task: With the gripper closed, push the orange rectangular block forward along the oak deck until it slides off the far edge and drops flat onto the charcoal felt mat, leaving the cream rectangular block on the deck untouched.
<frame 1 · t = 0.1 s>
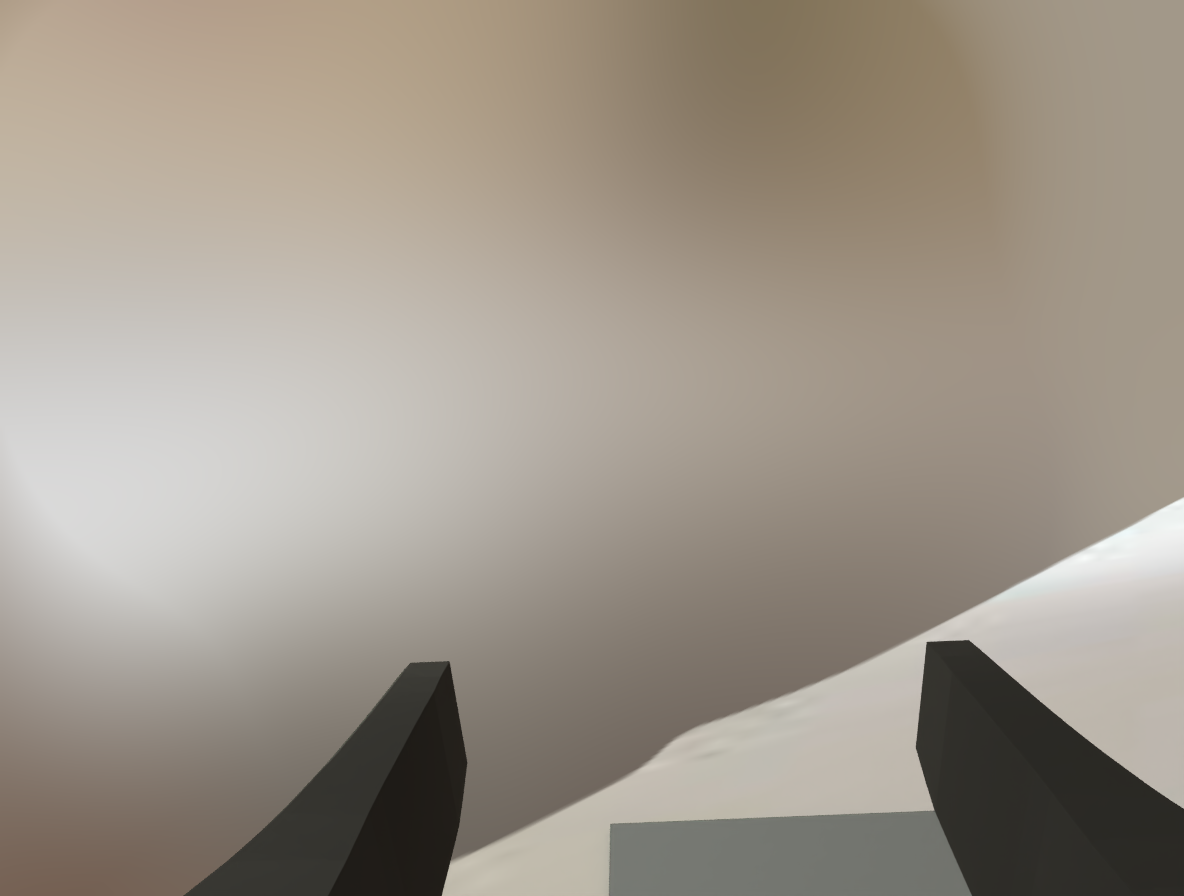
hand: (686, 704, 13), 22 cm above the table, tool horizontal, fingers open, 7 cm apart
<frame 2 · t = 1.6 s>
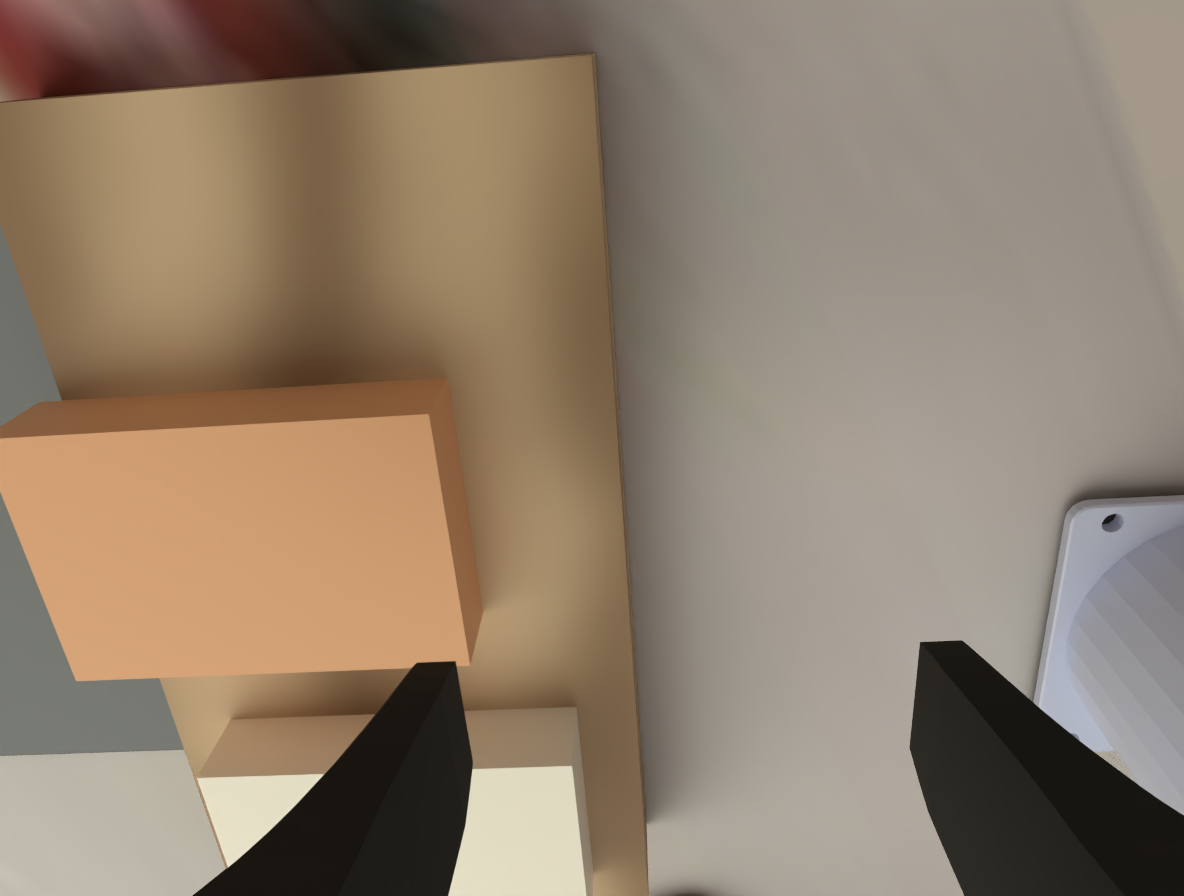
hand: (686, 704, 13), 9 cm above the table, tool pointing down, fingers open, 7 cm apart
cream rectangular block: (419, 799, 24), point 2 cm above the table, touching deck
orange rectangular block: (272, 512, 20), point 2 cm above the table, touching deck
deck: (397, 528, 23), on the table
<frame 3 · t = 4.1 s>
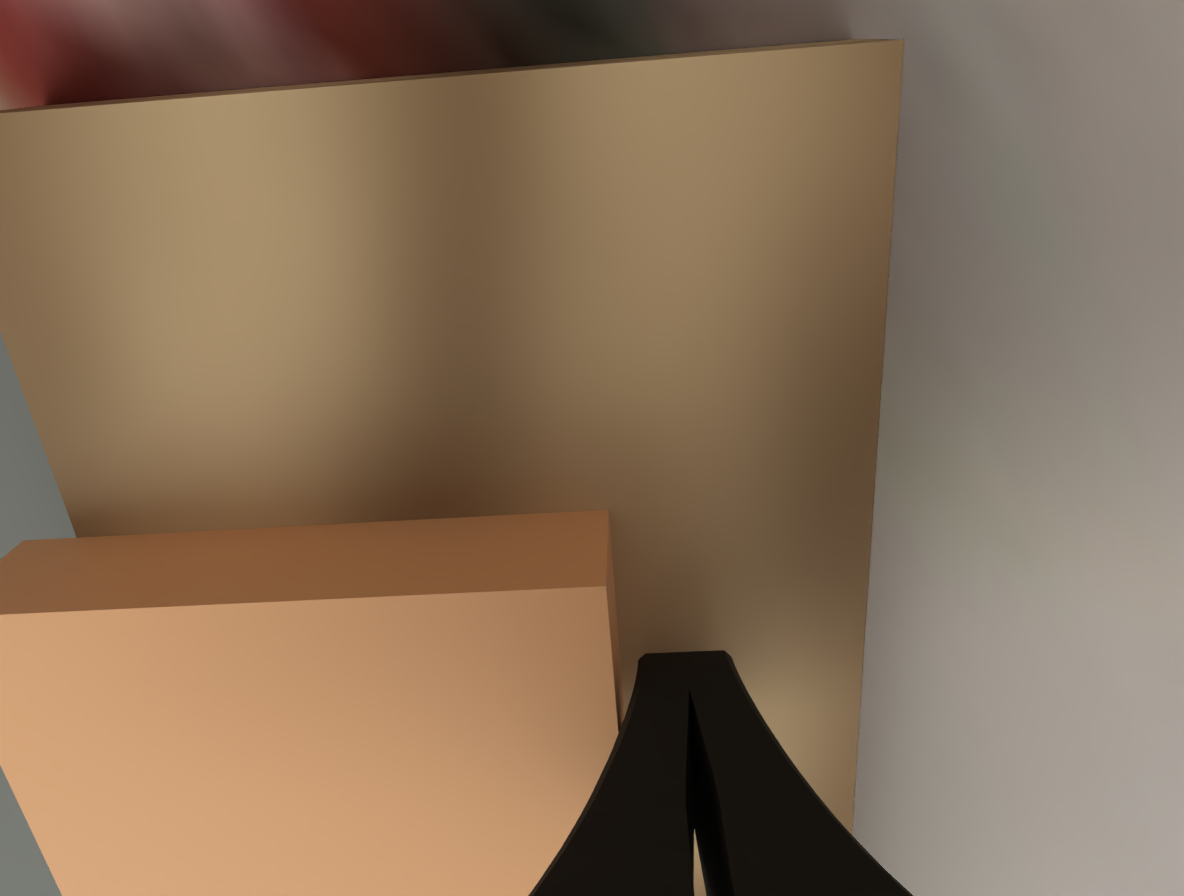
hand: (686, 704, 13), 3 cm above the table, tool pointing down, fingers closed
orange rectangular block: (348, 683, 15), point 3 cm above the table, touching gripper
deck: (519, 674, 17), on the table
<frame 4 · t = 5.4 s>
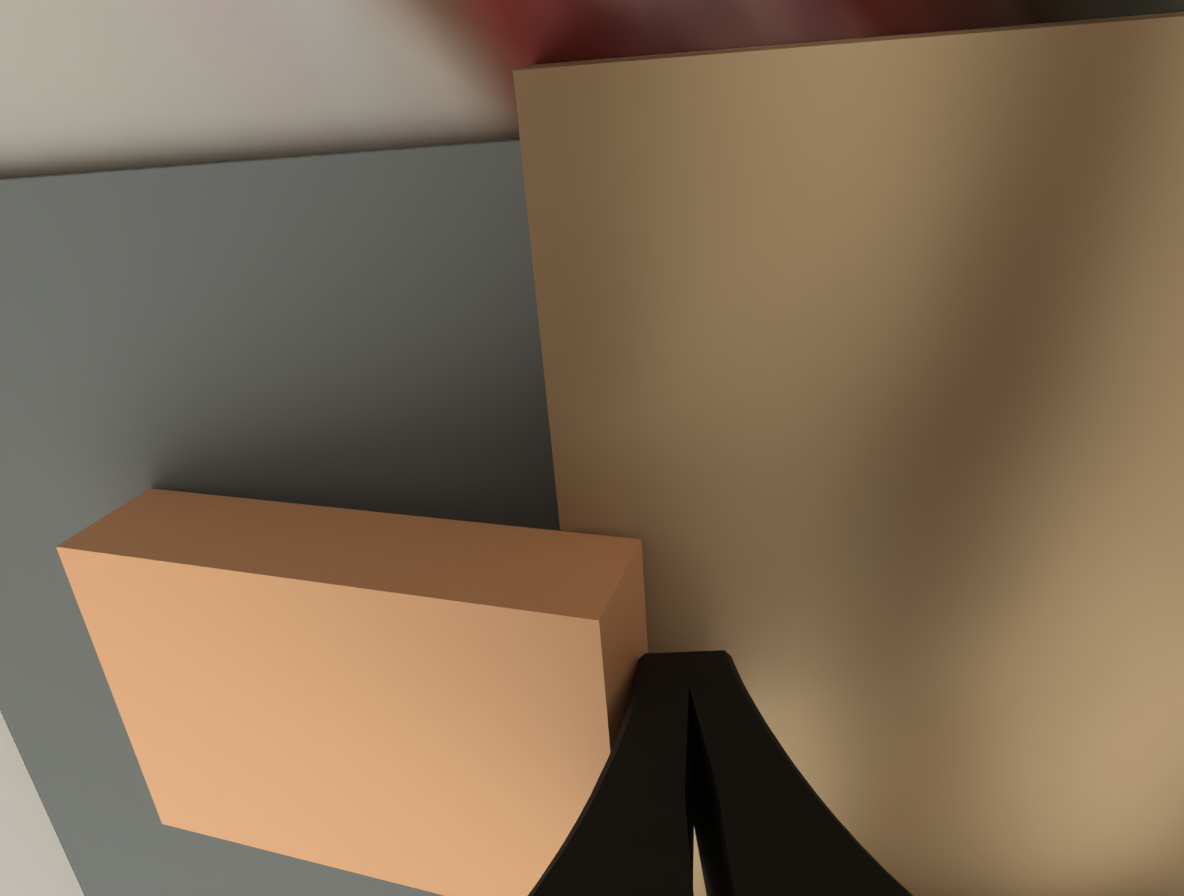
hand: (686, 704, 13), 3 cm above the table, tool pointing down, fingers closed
mat: (275, 621, 17), on the table
orange rectangular block: (401, 661, 15), point 2 cm above the table, tilted 16°, touching gripper
deck: (899, 659, 17), on the table
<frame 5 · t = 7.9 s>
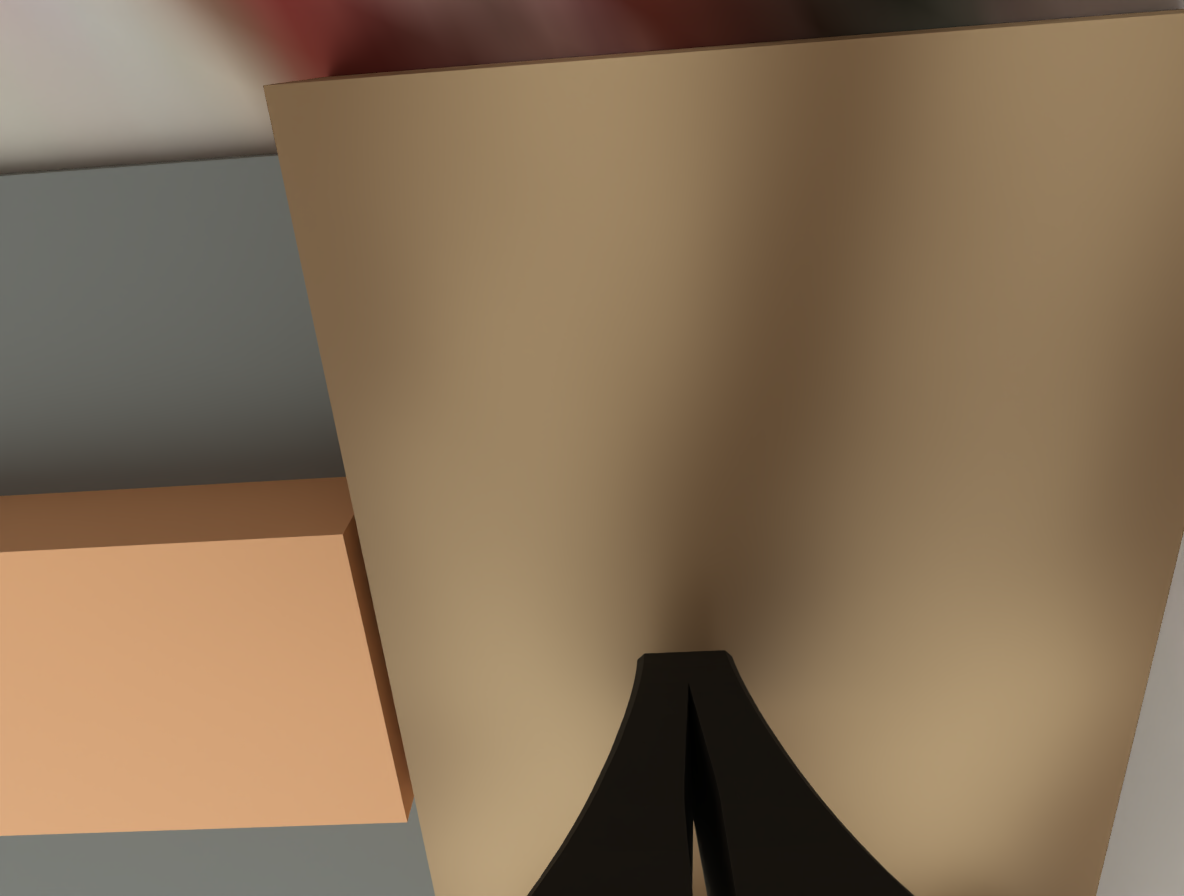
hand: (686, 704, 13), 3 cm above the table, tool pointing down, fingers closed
mat: (120, 630, 17), on the table
orange rectangular block: (169, 629, 17), resting on mat
deck: (743, 667, 17), on the table
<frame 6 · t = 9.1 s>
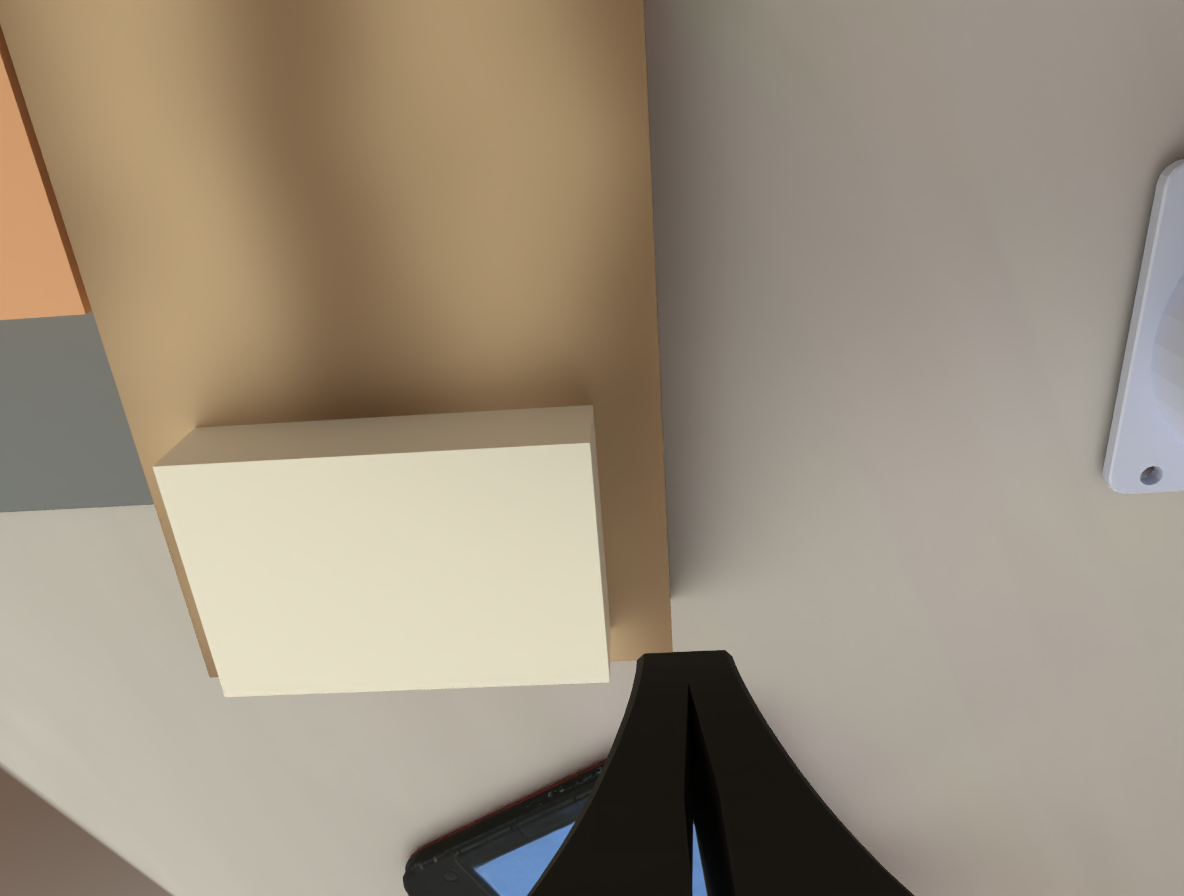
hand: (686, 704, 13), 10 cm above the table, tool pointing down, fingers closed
handheld game console: (640, 875, 30), on the table
cream rectangular block: (412, 532, 21), point 2 cm above the table, touching deck
deck: (387, 213, 20), on the table
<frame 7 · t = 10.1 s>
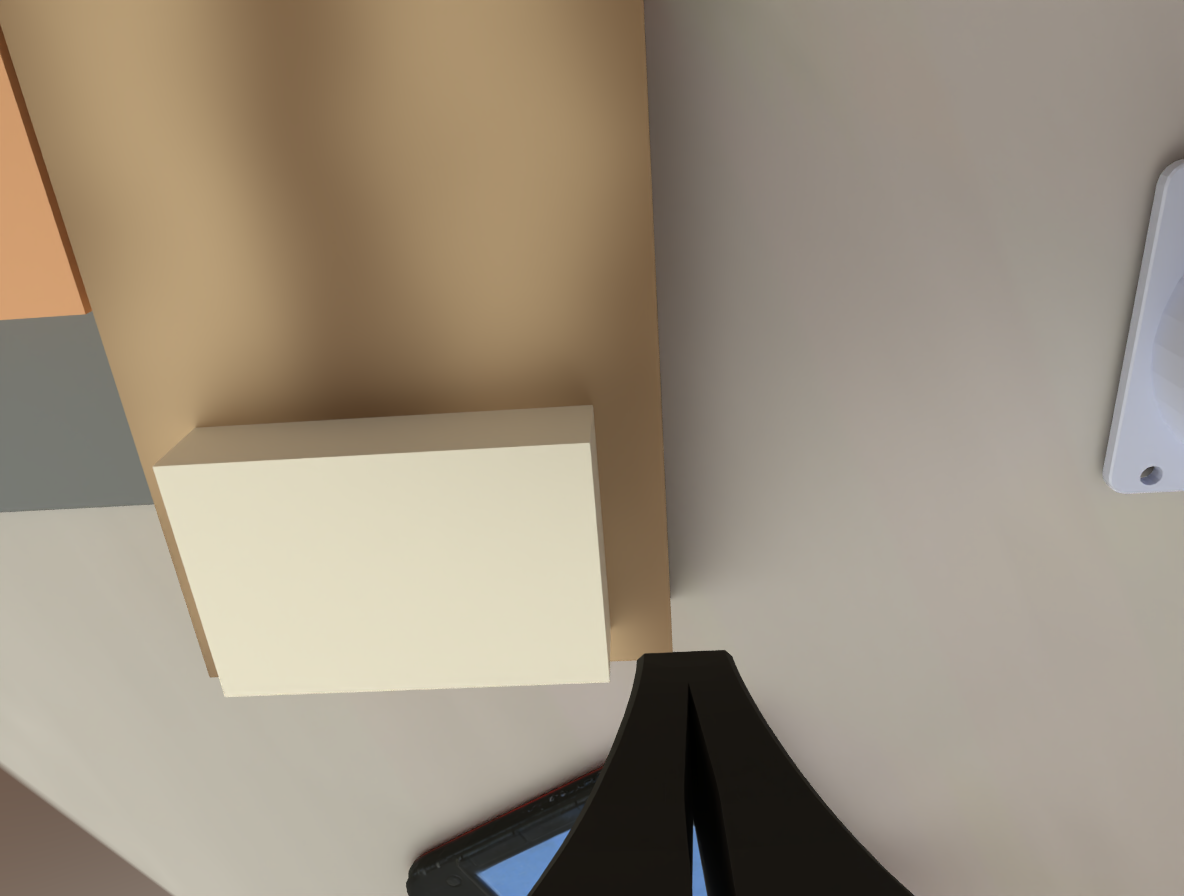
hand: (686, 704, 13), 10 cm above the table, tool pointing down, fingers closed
handheld game console: (642, 878, 30), on the table
cream rectangular block: (412, 532, 21), point 2 cm above the table, touching deck
deck: (387, 213, 20), on the table
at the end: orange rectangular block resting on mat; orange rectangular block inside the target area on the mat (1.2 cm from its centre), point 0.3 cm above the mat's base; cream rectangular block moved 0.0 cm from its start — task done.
